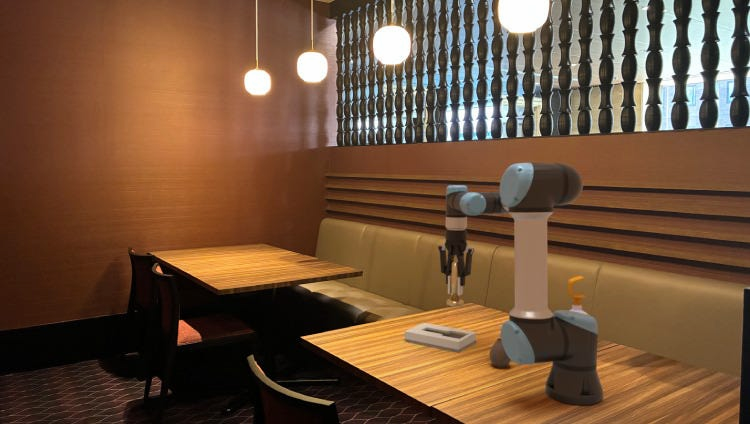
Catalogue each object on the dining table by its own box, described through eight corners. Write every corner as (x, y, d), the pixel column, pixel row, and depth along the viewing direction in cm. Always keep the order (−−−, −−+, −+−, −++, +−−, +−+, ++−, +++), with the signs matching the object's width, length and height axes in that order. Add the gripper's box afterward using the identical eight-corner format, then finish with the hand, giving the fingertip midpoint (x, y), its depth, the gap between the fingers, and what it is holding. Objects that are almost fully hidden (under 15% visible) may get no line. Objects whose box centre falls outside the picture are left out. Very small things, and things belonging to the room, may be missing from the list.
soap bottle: (593, 347, 200) (595, 279, 198) (567, 347, 200) (569, 279, 198) (584, 340, 209) (586, 274, 207) (559, 339, 209) (561, 274, 207)
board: (458, 352, 194) (458, 341, 194) (404, 341, 207) (404, 331, 207) (476, 342, 205) (476, 332, 205) (424, 332, 218) (424, 322, 218)
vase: (511, 370, 177) (512, 343, 176) (489, 368, 178) (489, 341, 178) (511, 363, 184) (511, 336, 183) (489, 361, 185) (489, 335, 184)
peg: (458, 307, 198) (459, 263, 196) (443, 304, 201) (444, 261, 200) (466, 304, 202) (467, 261, 201) (451, 301, 206) (452, 259, 205)
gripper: (481, 229, 198) (480, 295, 200) (441, 226, 207) (440, 289, 209) (472, 231, 192) (471, 299, 194) (431, 228, 201) (430, 292, 203)
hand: (455, 293), depth 201 cm, fingers closed on peg, 3 cm apart
